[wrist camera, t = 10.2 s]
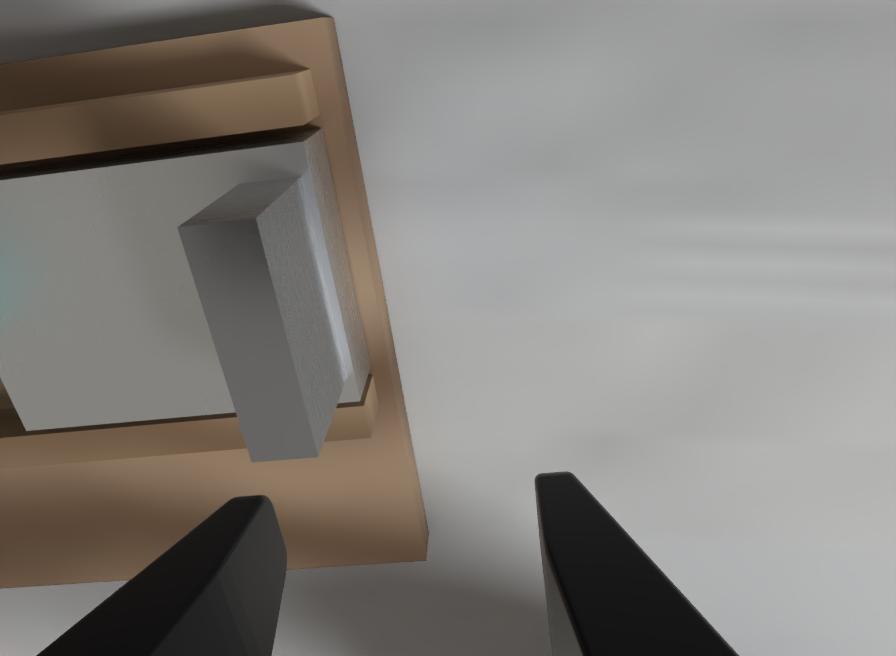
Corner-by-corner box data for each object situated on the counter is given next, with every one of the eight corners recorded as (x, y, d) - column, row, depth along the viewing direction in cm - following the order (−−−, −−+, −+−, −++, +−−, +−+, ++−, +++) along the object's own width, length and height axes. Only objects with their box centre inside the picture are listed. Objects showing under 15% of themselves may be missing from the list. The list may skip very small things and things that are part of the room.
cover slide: (370, 366, 18) (334, 483, 13) (65, 395, 19) (-66, 514, 14) (322, 128, 15) (256, 175, 11) (-33, 174, 16) (-232, 235, 12)
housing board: (428, 533, 22) (422, 600, 20) (-58, 567, 24) (-121, 633, 21) (333, 17, 15) (305, 17, 13) (-338, 114, 17) (-481, 132, 14)
